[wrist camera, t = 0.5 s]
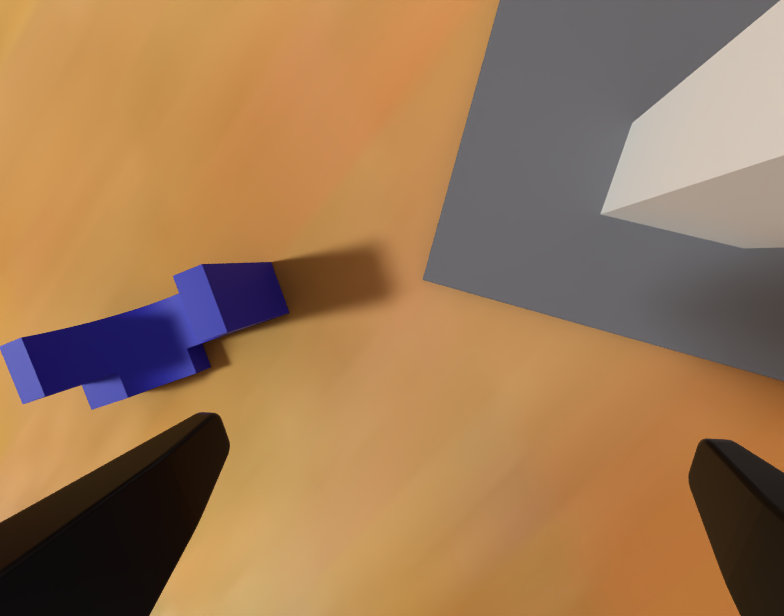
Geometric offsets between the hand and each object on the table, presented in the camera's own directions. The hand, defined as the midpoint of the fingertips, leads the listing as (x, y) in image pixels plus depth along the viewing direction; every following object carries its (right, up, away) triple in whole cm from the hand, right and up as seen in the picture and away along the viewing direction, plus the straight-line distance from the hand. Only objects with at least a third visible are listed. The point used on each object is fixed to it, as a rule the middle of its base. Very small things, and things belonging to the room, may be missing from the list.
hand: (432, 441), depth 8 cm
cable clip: (-12, +1, +16) cm, 20 cm away
